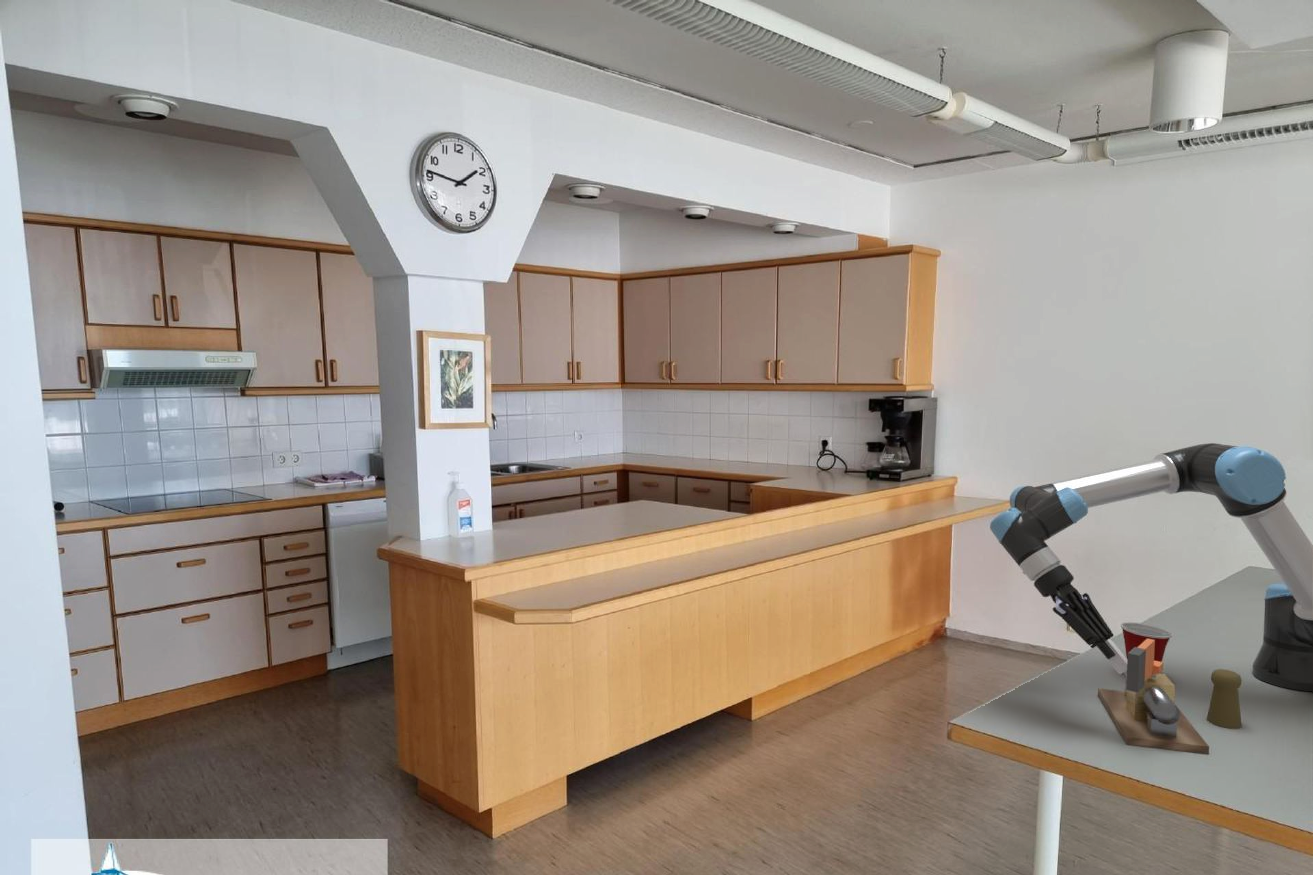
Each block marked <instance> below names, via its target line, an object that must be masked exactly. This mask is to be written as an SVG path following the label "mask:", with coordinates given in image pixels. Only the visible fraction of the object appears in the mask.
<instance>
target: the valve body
mask: <svg viewBox="0 0 1313 875" xmlns="http://www.w3.org/2000/svg"><path fill="white" fill-rule="evenodd" d="M1123 673H1124V675H1125V677H1126V678H1127V671H1125V672H1123ZM1126 683H1127V680H1125V683H1124V691H1125V696H1126V708H1127V709H1128V711H1129V712H1130V714H1131V715H1132V717H1133V718H1134V720H1141V721H1147V730H1148V731H1149V733H1150V734H1151V735H1157V736H1166V737H1175V738H1176V736H1177V721H1178V720H1179V718H1180V712H1179V710H1180V708H1179V707H1178V706H1177V704H1174V703H1175V693H1176V692H1175V690H1176V685H1175V684H1174V683H1173V682H1172V681H1171V679H1170V678H1169V677H1168V676H1167V675H1166V674H1165V673H1161V672H1160V674H1156V678H1150V677H1149V678H1148V679H1147V680H1146V681H1145V683H1144V687H1143V688H1142V689H1141V690H1140V691H1139V692H1138V693H1137V692H1133V691H1129V690H1126ZM1176 706H1177V707H1178V708H1179V709H1178V708H1177V707H1176Z"/></svg>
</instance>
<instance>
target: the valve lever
mask: <svg viewBox="0 0 1313 875" xmlns="http://www.w3.org/2000/svg"><path fill="white" fill-rule="evenodd" d="M1154 649H1155V640H1152V639H1146V640H1145V641H1144V642H1143V643H1142V644H1141V645H1139V646H1138V647H1134V648H1133V649H1132V650H1131V651H1130V652H1129V653H1128V659H1127V677H1126V681H1127V683H1126V690H1129V691H1133V692H1137V693H1138V692H1139V691H1140V690H1141V689H1142V688H1143V687H1144V683H1145V681H1146V680H1147V679H1148V678H1149V677H1150V678H1156V674H1160V673H1161V672H1163V670H1164V662H1163V661H1162V662H1159V661H1154Z"/></svg>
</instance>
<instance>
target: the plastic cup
mask: <svg viewBox="0 0 1313 875" xmlns="http://www.w3.org/2000/svg"><path fill="white" fill-rule="evenodd" d="M1120 627H1121V630H1122V633H1123V634H1122V635H1123V641H1124V647H1125V657H1126V658H1127V659H1128V653H1129V652H1130V651H1131V650H1132V649H1133V648H1134V647H1138V646H1139V645H1141V644H1142V643H1143V642H1144V641H1145V640H1146V639H1152V640H1155V649H1154V661H1159V662H1163V658H1164V655H1165V651H1166V648H1167V646H1168V642H1169V641H1170V639H1171V638H1172V637H1173V633H1172V632H1171V631H1169V630H1166V629H1164V628H1162V627H1160V626H1155V625H1151V624H1148V623H1141V622H1135V621H1134V622H1133V621H1131V622H1130V621H1127V622H1125V621H1123V622H1122V623H1120Z"/></svg>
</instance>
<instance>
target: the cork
mask: <svg viewBox="0 0 1313 875" xmlns="http://www.w3.org/2000/svg"><path fill="white" fill-rule="evenodd" d="M1210 680H1211V683H1212V684H1213V688H1212V693H1211V698H1210V700H1209V701H1210V702H1209V706H1208V711H1207V712H1208V713H1207V716H1206V721H1207V722H1208V721H1209V722H1208V723H1209V724H1211V723H1212V725H1214V726H1217V727H1221V728H1225V729H1231V730H1232V729H1235V730H1236V729H1237V730H1238V729H1241V728H1242V726H1243V723H1242V716H1241V715H1242V714H1241V706H1240V704H1241V703H1240V697H1239V696H1240V695H1239V689H1240V688H1241V685H1242V682H1243V681H1242V678H1241V676H1240V673H1237V672H1236V671H1233V670H1229V669H1223V668H1219V669H1215V670H1213V671H1212V673H1211V676H1210Z"/></svg>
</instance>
